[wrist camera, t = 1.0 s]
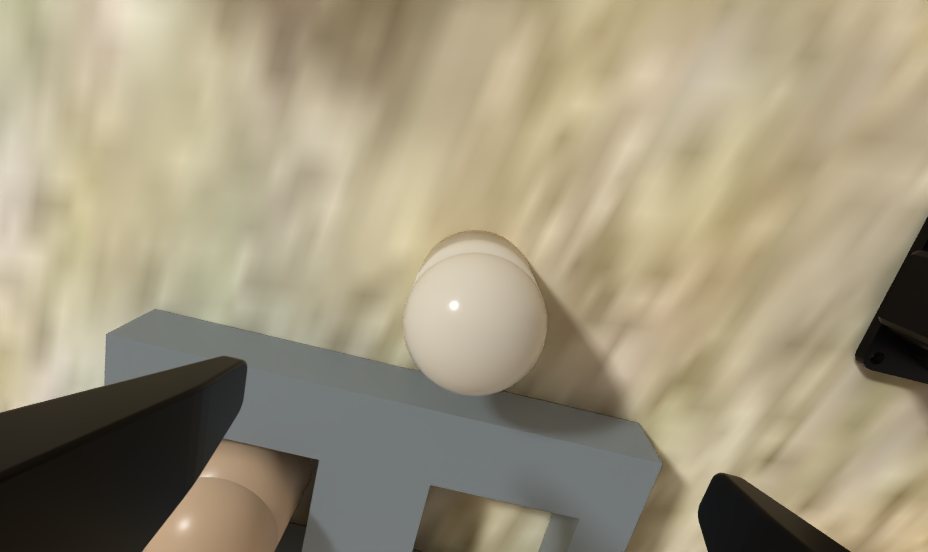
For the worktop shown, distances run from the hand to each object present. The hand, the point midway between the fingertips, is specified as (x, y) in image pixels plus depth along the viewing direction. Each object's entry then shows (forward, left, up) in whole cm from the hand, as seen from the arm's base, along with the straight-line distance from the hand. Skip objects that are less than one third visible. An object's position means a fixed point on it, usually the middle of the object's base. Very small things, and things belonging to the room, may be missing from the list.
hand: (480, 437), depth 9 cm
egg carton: (+2, +10, -9) cm, 14 cm away
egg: (0, 0, -9) cm, 9 cm away
